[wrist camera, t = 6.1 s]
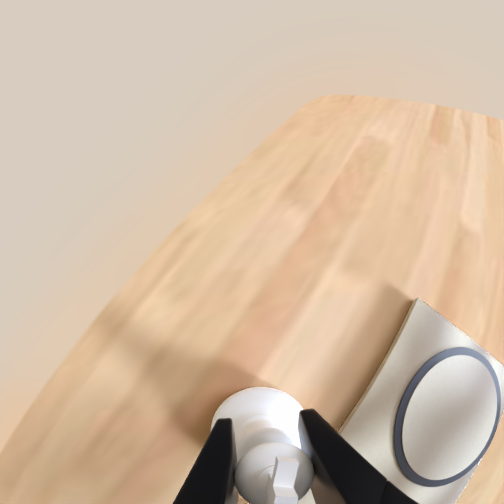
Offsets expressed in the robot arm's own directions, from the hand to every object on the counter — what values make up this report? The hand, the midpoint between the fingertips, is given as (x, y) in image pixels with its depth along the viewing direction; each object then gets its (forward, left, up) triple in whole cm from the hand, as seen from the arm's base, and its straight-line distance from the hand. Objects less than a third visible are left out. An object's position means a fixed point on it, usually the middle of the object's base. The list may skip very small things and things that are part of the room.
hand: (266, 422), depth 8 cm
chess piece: (-1, +1, -7) cm, 7 cm away
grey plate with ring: (-10, 0, -7) cm, 12 cm away
